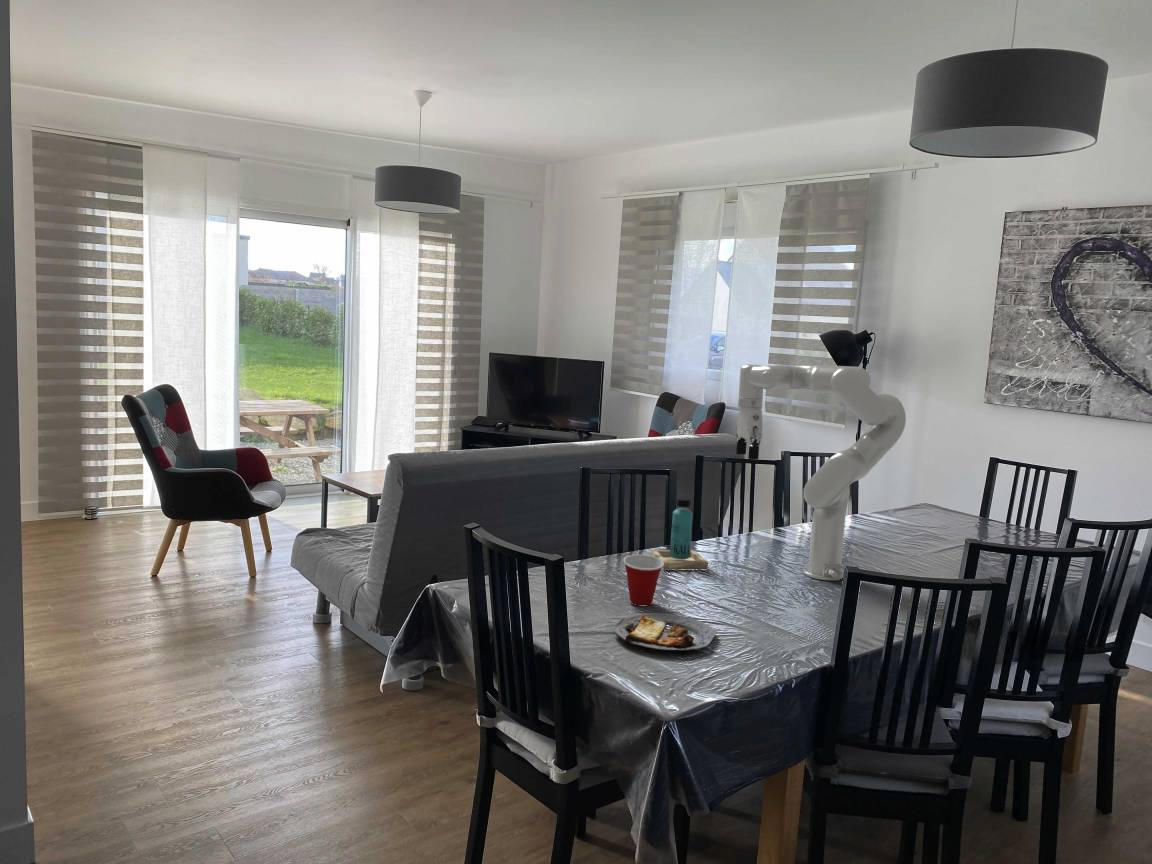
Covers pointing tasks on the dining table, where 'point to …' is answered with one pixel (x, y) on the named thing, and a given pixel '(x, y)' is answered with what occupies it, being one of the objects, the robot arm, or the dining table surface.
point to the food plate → (651, 626)
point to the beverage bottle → (681, 531)
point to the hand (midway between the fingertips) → (747, 456)
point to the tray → (680, 560)
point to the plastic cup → (642, 577)
